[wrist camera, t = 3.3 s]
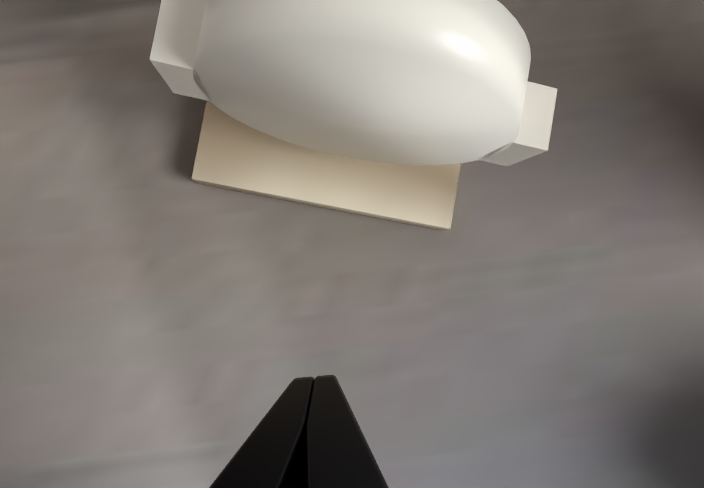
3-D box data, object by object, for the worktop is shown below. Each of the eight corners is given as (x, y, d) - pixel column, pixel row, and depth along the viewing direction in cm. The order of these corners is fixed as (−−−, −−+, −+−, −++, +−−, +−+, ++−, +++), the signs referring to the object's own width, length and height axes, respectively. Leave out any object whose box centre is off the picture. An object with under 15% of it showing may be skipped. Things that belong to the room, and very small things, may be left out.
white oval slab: (466, 182, 16) (646, 111, 8) (197, 126, 14) (85, -30, 6) (473, 139, 16) (658, 27, 8) (206, 79, 14) (106, -130, 7)
